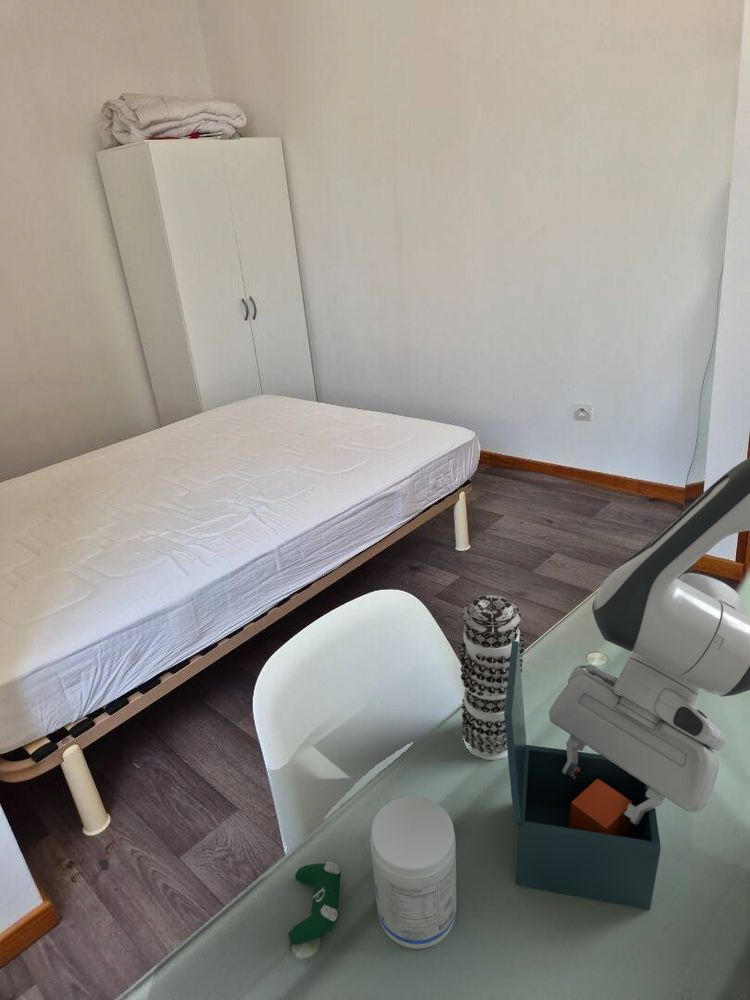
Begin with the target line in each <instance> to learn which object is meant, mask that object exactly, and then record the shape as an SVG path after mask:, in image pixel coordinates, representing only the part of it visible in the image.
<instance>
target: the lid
mask: <svg viewBox="0 0 750 1000" xmlns="http://www.w3.org/2000/svg"><path fill="white" fill-rule="evenodd" d="M521 668H522V667H521V666H520V653H519V642H518V641H512V646H511V655H510V664H509V673H508V683H507V692H506V701H505V710H504V719H505V730H506V741H507V752H508V756H507V761H508V771H509V772H508V773H509V783H510V793H511V804H512V813H513V814H512V815H513V816H512V817H513V822H514V823H517V824H518V823H521V815H522V800H523V784H524V769H525V754H526V745H527V733H526V719H525V718H526V717H525V707H524V694H523V692H524V691H523V682H522V679H523V678H522V673H521Z"/></svg>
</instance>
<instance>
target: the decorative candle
mask: <svg viewBox="0 0 750 1000" xmlns="http://www.w3.org/2000/svg"><path fill="white" fill-rule="evenodd" d="M461 617H462V619H463V621H464V627H463V635H462V637H461V639H460V641H459V646H460V647H459V654H460V655H459V657H458V659H459V661H460V665H461V667H460V672H461V675H460V679H461V682H462V684H463V687H464V694H463V698H462V703H463V704H462V705H461V709H462V711H463V712H462V713H461V718H462V721H461V727H462V729H461V734H462V736H463V735H464V739H465V741H466V742H467V743H469V744H470V745H468V746H471V747H472V748H470V747H469V748H470V749H471V752H472V753H473V754H476V755H477V756H479V757H481V758H482V759H481V758H480V759H481V760H487V761H498V760H504V759H505V758H508V752H507V741H506V730H505V719H504V710H505V701H506V692H507V683H508V673H509V664H510V655H511V646H512V641H518V642H519V653H520V666H521V674H522V673H523V668H522V667H523V663H524V660H523V654H524V652H525V648H524V647H525V644H524V643H525V640H524V638H525V637H524V636H525V635H524V634H523V633H522V632H520V631H521V630H520V628H519V627H520V626H519V625H520V622H521V620H522V612H521V610H520V609H519V607H518V606H517V605H515V604H513V603H512V602H511V601H510V600H508V599H507V598H505V597H503V596H500V595H496V594H495V595H494V594H487V595H481V596H479V597H476V598H475V599H474V600H473V601H470V602H468V603H467V604H466V606H464V608H462V613H461ZM471 752H470V753H471ZM472 753H471V754H472ZM473 754H472V755H473ZM477 756H476V757H477ZM479 757H478V758H479Z"/></svg>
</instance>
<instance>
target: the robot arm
mask: <svg viewBox="0 0 750 1000" xmlns="http://www.w3.org/2000/svg"><path fill="white" fill-rule="evenodd" d="M748 531H750V457H748V458H746V459H745V460H743V461H741V462H740V463H738V464H736V465H735V466H734V467H732V468H730V469H729V470H728V471H727V472H725V474H723V475H722V476H721V477H719V479H718V480H716V481H715V482H714V483H712V484H711V486H709V487H708V488H707V489H706V490H705V491H704V492H703V493H701V494H700V495H699V496H698V497H697V498H696V499H694V501H693V502H691V503H690V504H689V505H688V506H687V507H686V508H685V509H684V510H683V511H681V513H680V514H678V516H677V517H675V518H674V519H673V520H672V521H671V522H670V523H669V524H668V525H666V527H665V528H664V529H662V530H661V531H660V532H659V533H658V534H657V535H656V536H655V537H653V539H652V540H651V541H649V543H647V544H646V545H645V546H644V547H642V548H641V549H640V550H639V551H637V553H635V554H634V555H633V556H631V557H629V558H628V559H626V561H624V562H622V563H621V564H620V565H619V566H618V567H617V568H616V569H615V570H614V571H612V572H611V573H609V575H608V576H607V577H606V578H605V579H604V580H603V582H602V583H601V584H600V587H599V588H598V590H597V592H596V594H595V597H594V600H593V602H592V606H591V609H592V614H593V617H594V620H595V623H596V626H597V628H598V630H599V632H600V634H601V636H602V638H603V639H604V641H607V642H608V643H611V644H614V645H615V646H617V647H620V648H622V649H624V650H627V651H629V652H631V654H630V655H629V657H628V659H627V661H626V663H625V665H624V666H623V668H622V670H621V672H620V674H619V676H618V677H616V676H614V675H613V674H610V673H608V672H606V671H603V670H602V669H600V668H599V667H598V666H596V665H594V664H591V663H589V664H580V665H578V666H576V667H574V669H573V670H572V672H571V674H570V676H569V678H568V680H567V683H566V685H565V687H564V688H563V689H562V691H561V692H559V694H558V696H557V697H556V698H555V700H554V701H553V703H552V705H551V706H550V708H549V711H548V716H549V721H550V723H552V724H553V725H555V726H556V727H558V728H560V730H563V732H565V733H567V734H568V735H570V736H569V738H568V739H567V740H566V741H567V742H566V750H567V760H568V761H567V762H566V764H565V766H564V768H563V770H562V773H563V774H564V775H566V776H567V777H569V778H570V779H572V780H577V778H578V777H579V775H578V774H580V773H581V771H582V769H583V768H581V767H580V766H578V765H577V764H578V752H579V751H580V752H584V751H583V750H584V749H585V747H586V746H587V747H588V748H590V749H592V750H593V751H594V752H596V753H597V754H600V755H602V756H604V757H605V758H607V759H608V760H610V761H611V762H613V763H614V764H616V765H617V766H619V767H620V768H622V769H623V770H625V771H626V772H628V773H629V774H631V775H632V776H634V777H635V778H637V779H638V780H640V781H641V782H643V783H645V784H646V785H648V786H649V788H648V790H647V792H646V794H645V795H646V796H647V797H648V798H650V799H648V800H646V801H645V802H643V803H641V804H639V805H638V806H636V805H635V804H632V803H629V804H628V806H627V811H625V812H624V814H623V816H624V817H625V818H626V819H628V820H629V821H630V822H632V823H633V824H635V825H638V824H639V823H640V821H641V819H642V817H643V815H644V813H645V812H648V811H650V810H652V809H654V808H655V809H656V808H658V807H659V806H662V804H663V802H664V800H665V799H667V800H669V801H670V802H672V803H673V804H675V805H676V806H678V807H679V808H681V809H682V810H684V811H686V812H689V813H697V812H700V811H703V810H704V808H705V807H706V805H707V802H708V801H709V799H710V796H711V794H712V792H713V789H714V787H715V784H716V781H717V777H718V774H719V769H720V763H719V758H718V755H717V753H716V752H715V751H721V750H722V749H723V747H724V746H725V744H726V742H727V741H726V736H725V735H724V733H722V731H721V730H719V728H717V727H716V726H715V725H714V724H713V723H712V721H710V720H709V719H708V716H706V714H705V713H703V712H702V711H701V710H699V709H698V708H696V703H697V700H698V699H699V696H700V693H701V691H704V692H707V693H710V694H712V695H716V696H719V697H721V698H722V697H724V698H725V697H731V696H736V695H739V694H743V693H746V692H748V691H750V616H749V615H748V614H747V613H745V612H744V611H743V609H742V604H743V603H742V598H741V596H740V595H739V594H738V592H737V591H736V590H735V589H734V588H732V587H731V586H730V585H728V584H727V583H725V582H724V581H722V580H719V579H717V578H715V577H713V576H710V575H706V574H701V573H696V572H689V573H685V572H686V571H687V570H689V569H690V568H691V567H692V566H694V564H696V562H698V561H699V560H700V559H701V558H702V557H703V556H705V555H706V554H708V552H709V551H711V550H712V549H713V548H714V547H715V546H716V545H718V544H719V543H720V542H721V541H722V540H724V539H726V538H727V537H729V536H732V535H735V534H738V533H742V532H748Z"/></svg>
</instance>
